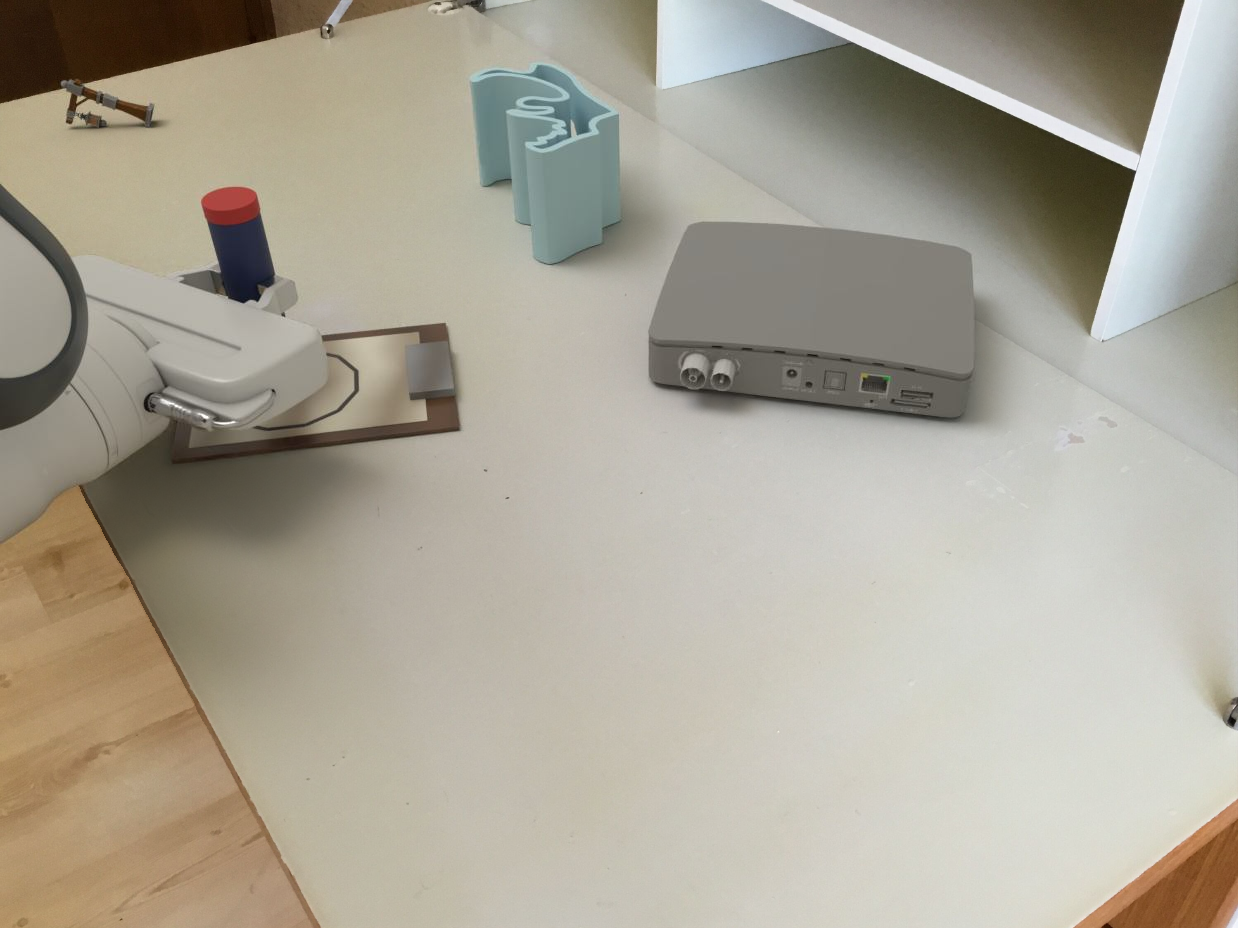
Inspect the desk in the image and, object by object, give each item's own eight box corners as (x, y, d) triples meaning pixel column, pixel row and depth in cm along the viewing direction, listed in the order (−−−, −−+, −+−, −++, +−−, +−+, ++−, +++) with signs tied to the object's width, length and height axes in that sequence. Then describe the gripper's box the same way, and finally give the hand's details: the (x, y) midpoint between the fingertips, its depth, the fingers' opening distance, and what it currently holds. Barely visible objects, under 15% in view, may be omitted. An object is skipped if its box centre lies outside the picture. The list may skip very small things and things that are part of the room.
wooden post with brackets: (58, 114, 111) (64, 71, 108) (147, 143, 114) (154, 101, 111) (53, 122, 109) (59, 78, 107) (143, 150, 112) (151, 108, 110)
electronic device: (963, 439, 75) (977, 376, 72) (640, 400, 78) (640, 338, 75) (961, 293, 89) (973, 234, 86) (688, 264, 92) (690, 207, 89)
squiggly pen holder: (649, 237, 96) (649, 128, 89) (543, 266, 92) (535, 154, 86) (553, 157, 107) (547, 56, 101) (455, 180, 103) (442, 76, 97)
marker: (241, 372, 79) (192, 196, 70) (286, 356, 80) (243, 181, 72) (262, 394, 77) (213, 215, 68) (307, 376, 78) (265, 200, 70)
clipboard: (171, 463, 72) (167, 452, 72) (191, 352, 82) (187, 340, 81) (459, 429, 75) (458, 418, 75) (446, 325, 85) (444, 314, 84)
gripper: (212, 389, 60) (380, 273, 69) (-51, 293, 67) (134, 199, 76) (240, 483, 64) (395, 361, 73) (-10, 383, 71) (161, 283, 80)
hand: (260, 278), depth 75 cm, fingers closed on marker, 3 cm apart
